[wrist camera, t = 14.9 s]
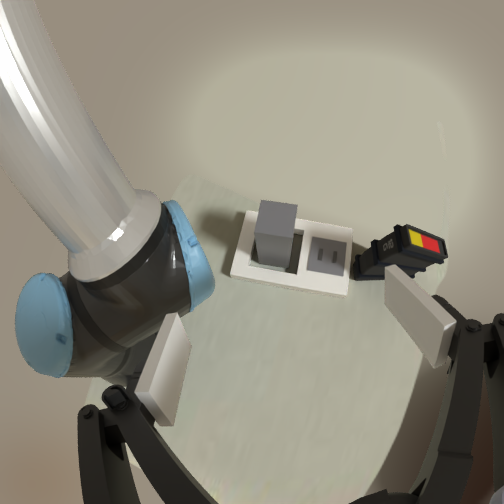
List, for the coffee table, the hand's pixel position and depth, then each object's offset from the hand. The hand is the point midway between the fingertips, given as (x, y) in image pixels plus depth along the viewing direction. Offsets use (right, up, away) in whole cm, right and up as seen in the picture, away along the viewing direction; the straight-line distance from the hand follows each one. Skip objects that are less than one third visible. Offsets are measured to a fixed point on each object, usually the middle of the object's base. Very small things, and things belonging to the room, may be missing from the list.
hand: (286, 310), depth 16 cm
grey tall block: (+2, +3, +31) cm, 31 cm away
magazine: (+22, 0, +28) cm, 36 cm away
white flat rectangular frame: (+5, +3, +31) cm, 31 cm away
